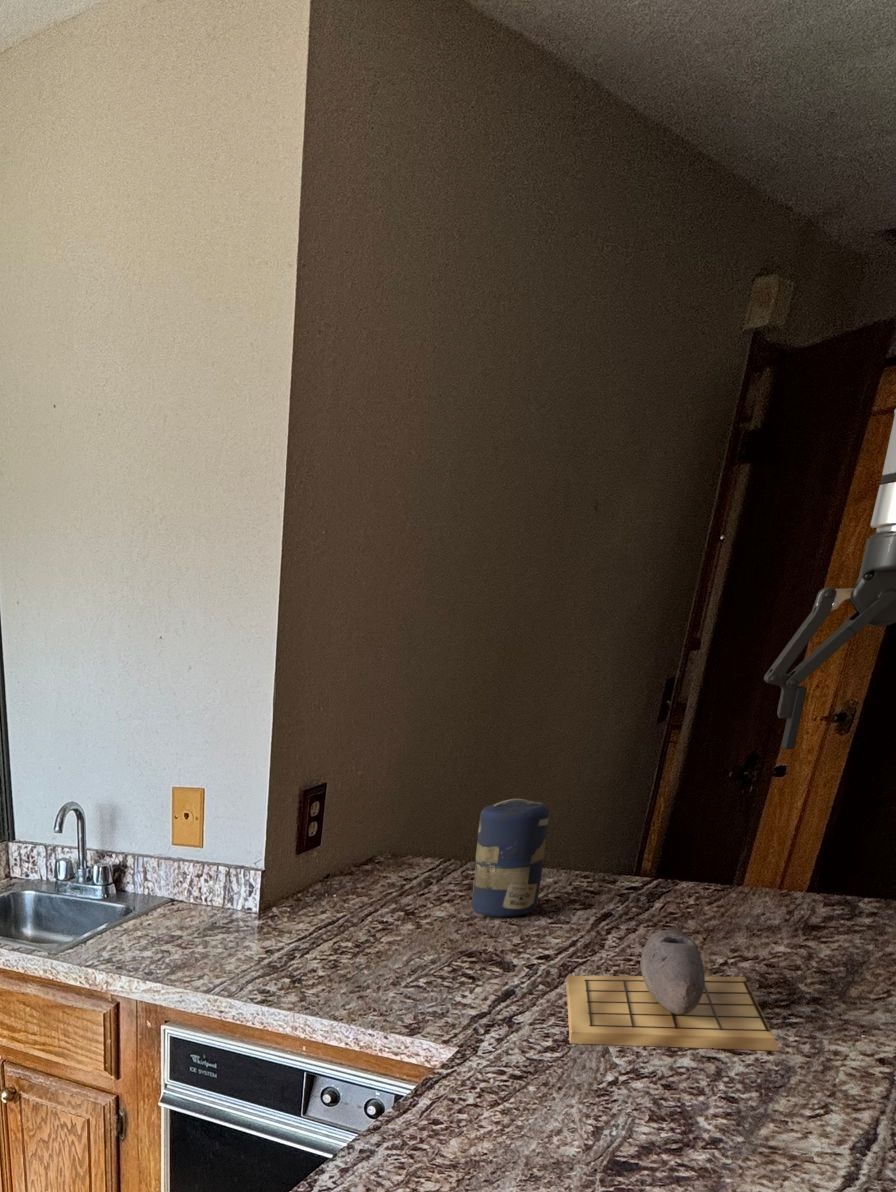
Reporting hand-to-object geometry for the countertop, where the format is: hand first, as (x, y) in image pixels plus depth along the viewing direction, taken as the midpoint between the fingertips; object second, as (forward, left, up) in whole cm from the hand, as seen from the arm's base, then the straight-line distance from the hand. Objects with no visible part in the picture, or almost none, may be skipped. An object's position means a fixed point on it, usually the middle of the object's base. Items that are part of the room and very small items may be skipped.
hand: (864, 741), depth 112 cm
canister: (+34, -28, -27) cm, 52 cm away
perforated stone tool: (+16, +18, -25) cm, 35 cm away
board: (+16, +18, -27) cm, 36 cm away
